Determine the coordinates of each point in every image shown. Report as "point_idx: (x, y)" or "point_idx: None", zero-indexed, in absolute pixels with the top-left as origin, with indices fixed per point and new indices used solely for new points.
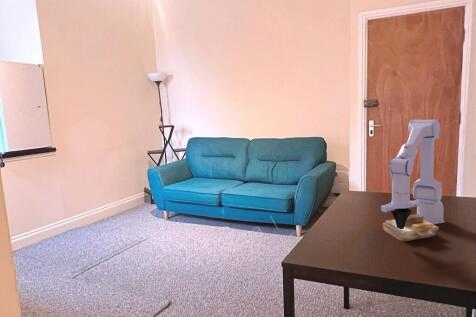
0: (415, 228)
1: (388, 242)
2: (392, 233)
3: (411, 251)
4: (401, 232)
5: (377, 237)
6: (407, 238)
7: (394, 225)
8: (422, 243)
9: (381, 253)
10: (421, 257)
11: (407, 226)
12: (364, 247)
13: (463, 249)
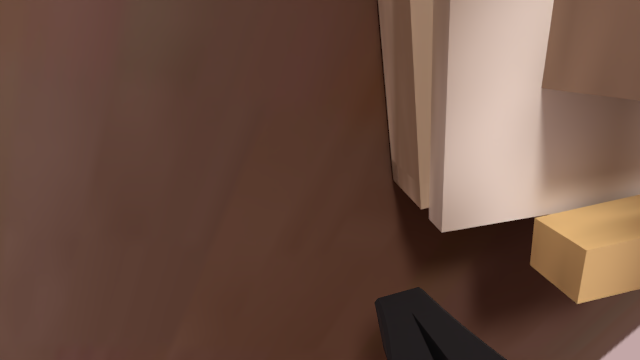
0: (557, 284)
1: (286, 165)
2: (390, 44)
3: (367, 308)
4: (431, 184)
5: (229, 37)
6: None
7: (462, 24)
8: None
9: (165, 323)
10: None
11: (575, 95)
12: (50, 229)
13: (632, 303)
